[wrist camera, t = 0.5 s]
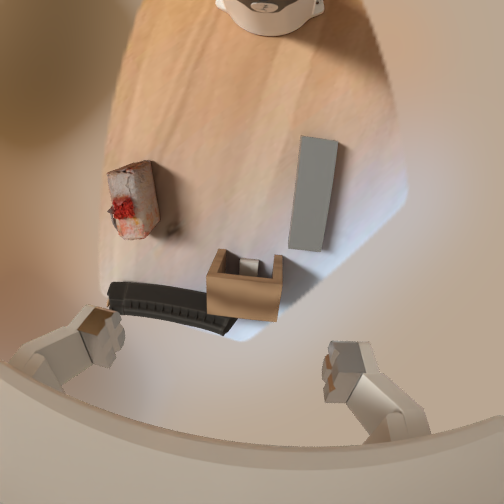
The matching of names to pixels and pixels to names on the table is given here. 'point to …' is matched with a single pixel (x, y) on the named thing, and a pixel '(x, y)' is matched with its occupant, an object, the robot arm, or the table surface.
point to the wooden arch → (243, 290)
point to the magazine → (166, 305)
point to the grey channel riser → (312, 193)
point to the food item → (133, 200)
